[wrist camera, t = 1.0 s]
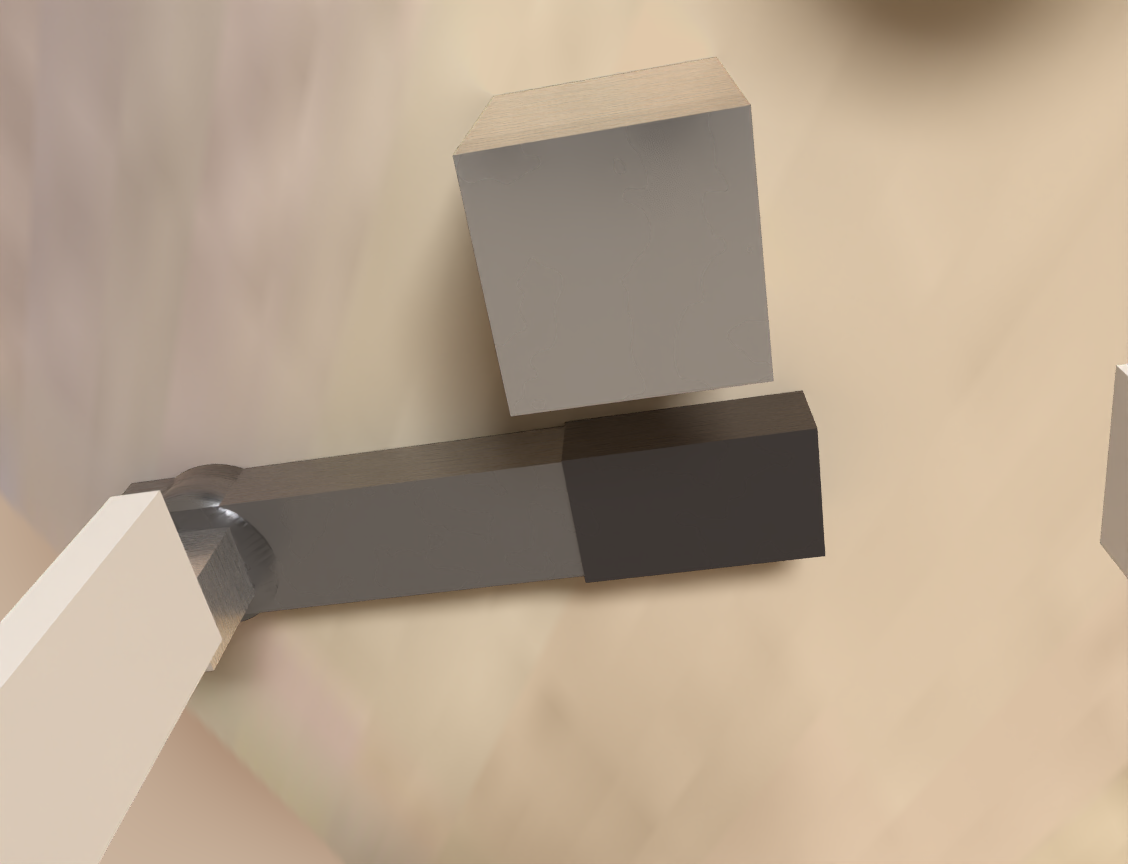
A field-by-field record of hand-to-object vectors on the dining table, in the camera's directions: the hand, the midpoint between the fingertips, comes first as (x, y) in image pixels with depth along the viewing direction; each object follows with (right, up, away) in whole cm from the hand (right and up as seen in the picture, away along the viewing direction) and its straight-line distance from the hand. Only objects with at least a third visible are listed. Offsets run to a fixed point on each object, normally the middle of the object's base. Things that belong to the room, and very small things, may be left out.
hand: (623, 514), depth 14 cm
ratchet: (-4, -1, +21) cm, 22 cm away
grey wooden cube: (+1, +9, +16) cm, 18 cm away
